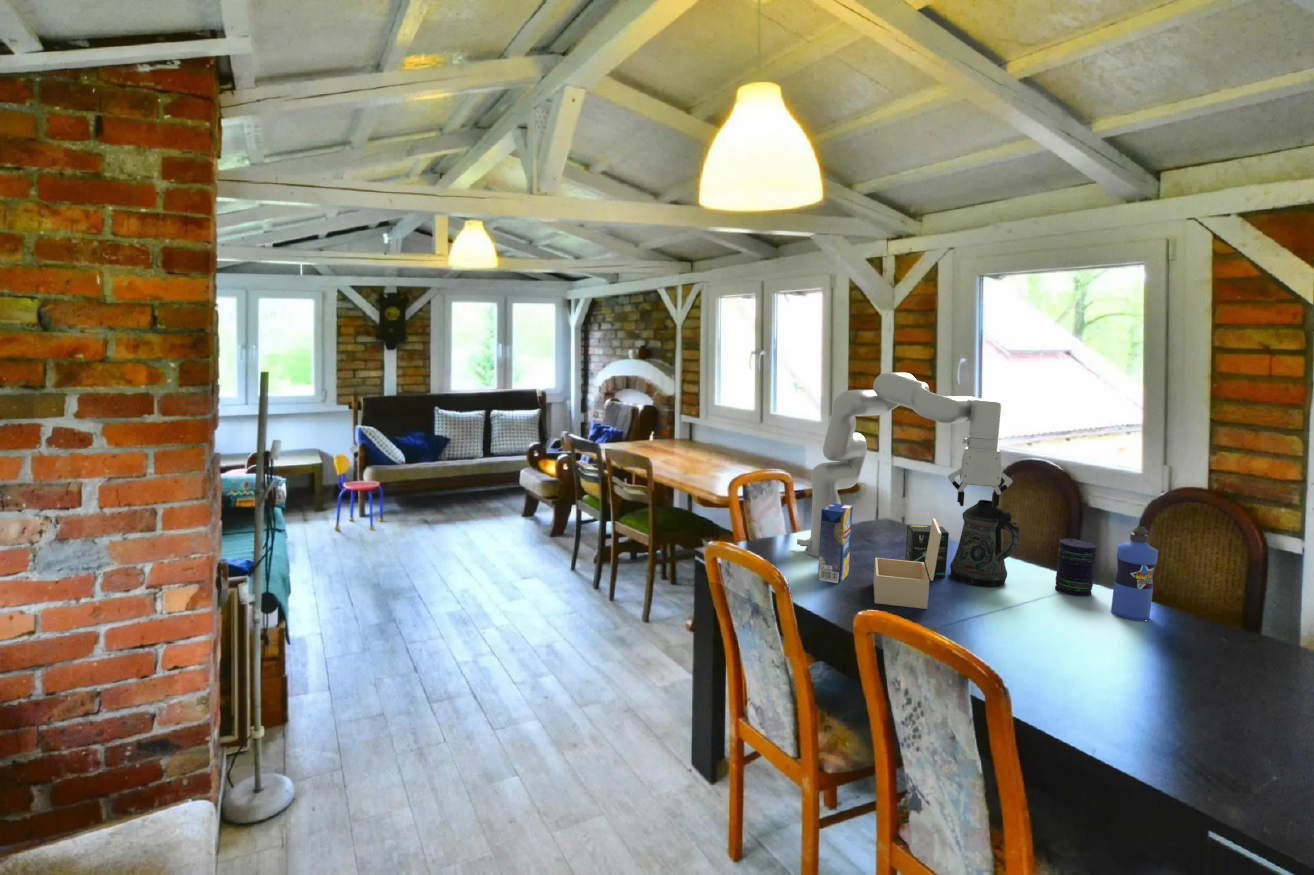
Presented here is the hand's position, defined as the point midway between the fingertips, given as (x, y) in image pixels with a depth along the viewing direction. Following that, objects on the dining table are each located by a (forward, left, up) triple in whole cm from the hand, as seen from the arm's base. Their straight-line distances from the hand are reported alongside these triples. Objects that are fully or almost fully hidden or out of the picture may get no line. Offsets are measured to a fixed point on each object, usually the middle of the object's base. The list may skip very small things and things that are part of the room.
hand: (977, 506), depth 209 cm
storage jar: (+32, +22, -28) cm, 48 cm away
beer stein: (+7, +24, -28) cm, 38 cm away
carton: (-19, 0, -28) cm, 34 cm away
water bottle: (+42, +5, -28) cm, 51 cm away
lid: (-11, 0, -13) cm, 17 cm away
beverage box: (-38, +11, -28) cm, 49 cm away
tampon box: (-10, +26, -28) cm, 40 cm away
